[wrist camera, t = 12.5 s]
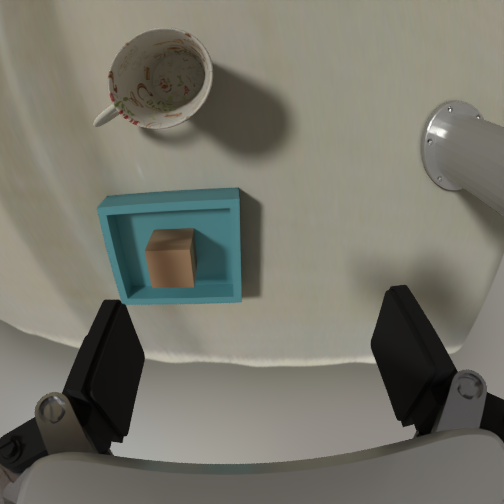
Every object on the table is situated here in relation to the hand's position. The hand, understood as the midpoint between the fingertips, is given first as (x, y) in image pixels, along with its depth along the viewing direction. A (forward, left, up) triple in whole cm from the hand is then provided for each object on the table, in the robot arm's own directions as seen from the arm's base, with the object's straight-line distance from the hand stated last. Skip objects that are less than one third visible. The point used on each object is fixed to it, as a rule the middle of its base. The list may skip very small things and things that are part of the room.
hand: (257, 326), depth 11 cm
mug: (+8, -7, -27) cm, 29 cm away
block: (+8, +12, -26) cm, 29 cm away
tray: (+8, +12, -26) cm, 30 cm away
